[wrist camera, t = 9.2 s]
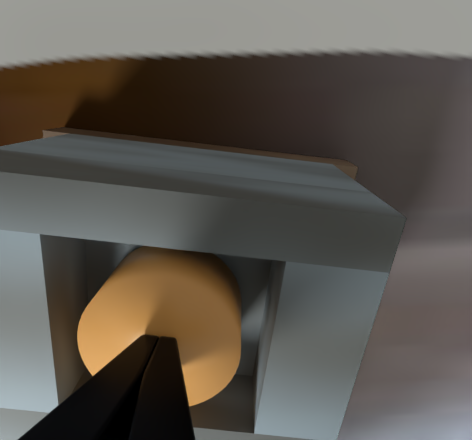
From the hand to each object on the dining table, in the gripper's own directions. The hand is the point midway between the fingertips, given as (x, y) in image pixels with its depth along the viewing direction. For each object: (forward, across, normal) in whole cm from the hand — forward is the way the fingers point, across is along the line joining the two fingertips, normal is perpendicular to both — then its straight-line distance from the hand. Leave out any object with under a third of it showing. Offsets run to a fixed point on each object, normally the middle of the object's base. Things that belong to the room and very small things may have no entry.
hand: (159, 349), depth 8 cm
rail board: (+8, 0, +11) cm, 13 cm away
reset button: (+2, 0, 0) cm, 2 cm away
